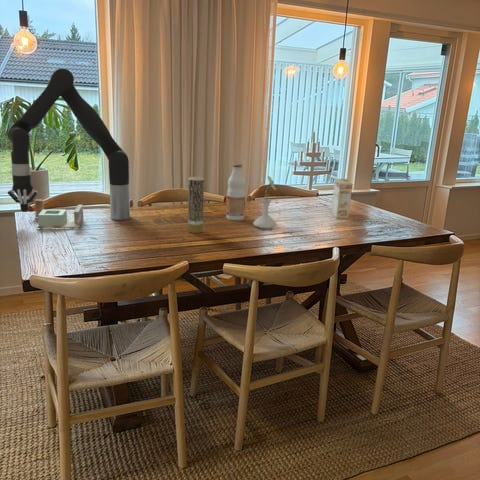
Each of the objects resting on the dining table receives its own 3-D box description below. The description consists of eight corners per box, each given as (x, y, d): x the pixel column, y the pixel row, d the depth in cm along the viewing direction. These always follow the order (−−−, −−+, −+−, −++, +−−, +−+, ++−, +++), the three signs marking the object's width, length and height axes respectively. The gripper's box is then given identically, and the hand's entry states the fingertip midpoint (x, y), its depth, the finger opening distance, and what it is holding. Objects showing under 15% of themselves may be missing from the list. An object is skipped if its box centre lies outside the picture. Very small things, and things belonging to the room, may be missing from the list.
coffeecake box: (348, 219, 247) (353, 183, 241) (335, 218, 247) (339, 183, 241) (343, 212, 261) (347, 178, 255) (330, 212, 261) (334, 178, 256)
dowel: (45, 216, 225) (44, 199, 223) (43, 218, 221) (42, 201, 219) (36, 216, 224) (35, 199, 222) (35, 218, 221) (33, 201, 218)
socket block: (67, 219, 217) (66, 209, 216) (63, 225, 207) (62, 215, 206) (43, 219, 215) (42, 209, 214) (38, 225, 205) (37, 215, 204)
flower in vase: (274, 231, 218) (278, 179, 211) (251, 229, 220) (254, 177, 213) (278, 224, 230) (281, 175, 223) (255, 222, 232) (258, 173, 225)
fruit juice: (233, 221, 232) (236, 166, 223) (222, 217, 238) (224, 163, 230) (247, 219, 237) (250, 165, 229) (236, 215, 244) (238, 162, 236)
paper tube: (203, 230, 215) (205, 177, 207) (201, 234, 208) (202, 179, 201) (189, 229, 215) (190, 176, 208) (186, 233, 209) (187, 178, 201)
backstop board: (83, 220, 220) (82, 204, 218) (79, 228, 207) (78, 211, 205) (43, 221, 217) (42, 204, 215) (37, 229, 204) (35, 211, 201)
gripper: (39, 172, 207) (42, 209, 212) (7, 171, 205) (11, 209, 210) (35, 175, 200) (38, 213, 205) (2, 174, 198) (6, 213, 203)
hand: (24, 211), depth 207 cm, fingers closed
